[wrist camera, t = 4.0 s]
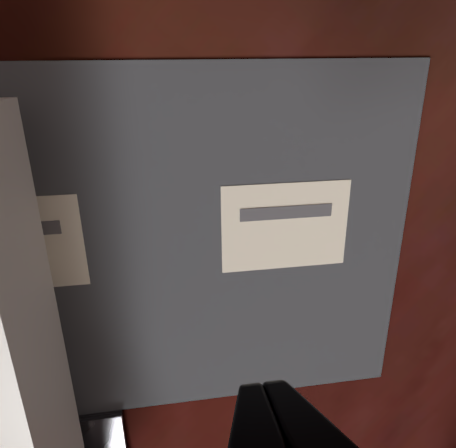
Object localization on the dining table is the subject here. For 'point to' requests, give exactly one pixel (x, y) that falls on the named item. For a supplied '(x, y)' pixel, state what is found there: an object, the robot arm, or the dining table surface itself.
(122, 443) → the grey flat square plate
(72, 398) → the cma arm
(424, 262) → the dining table surface
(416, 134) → the label mat
